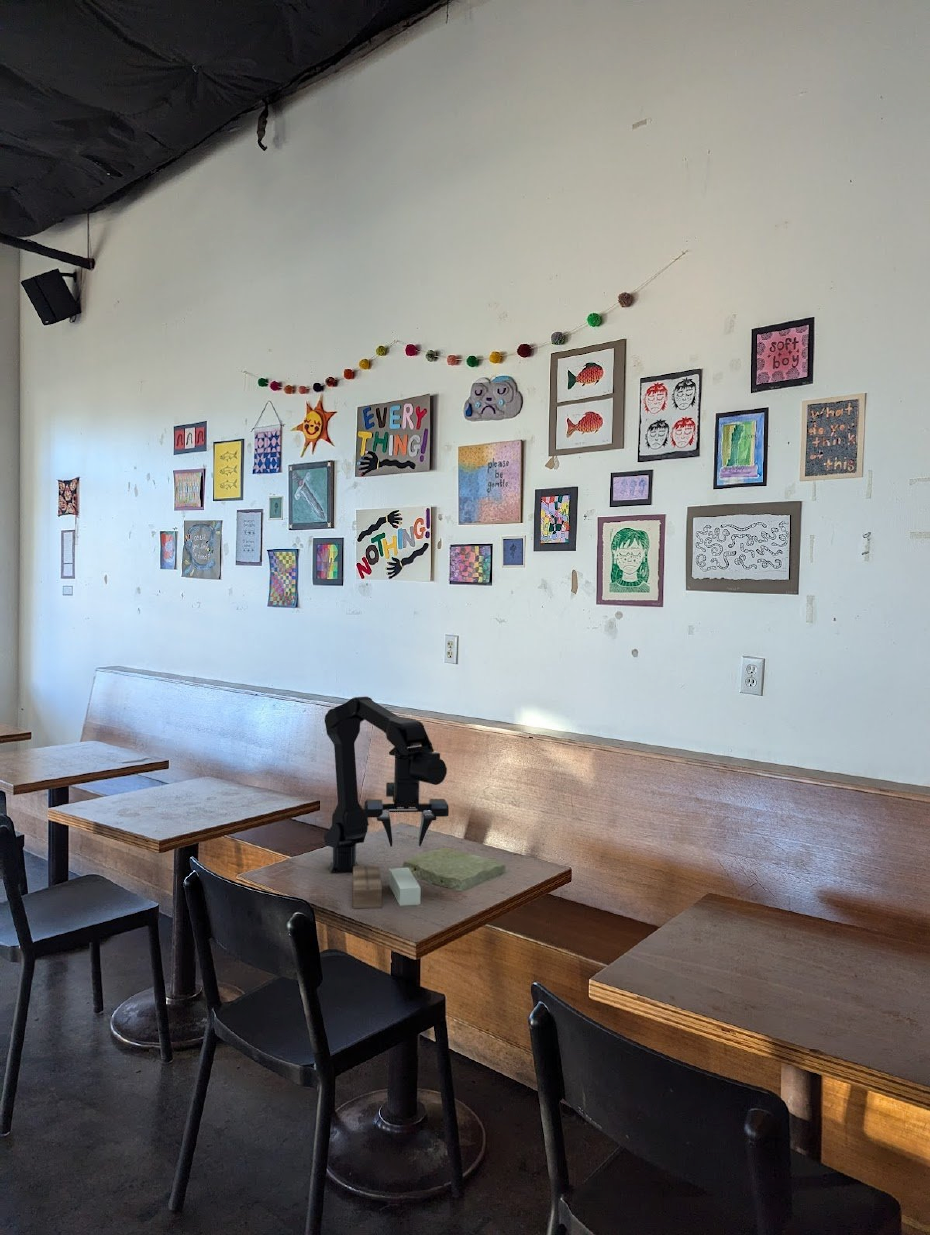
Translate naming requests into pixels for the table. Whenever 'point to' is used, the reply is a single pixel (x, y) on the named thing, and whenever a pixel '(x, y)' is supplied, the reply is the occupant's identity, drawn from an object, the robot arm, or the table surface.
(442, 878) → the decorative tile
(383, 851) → the table surface
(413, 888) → the sage plank
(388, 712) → the robot arm
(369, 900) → the walnut plank
